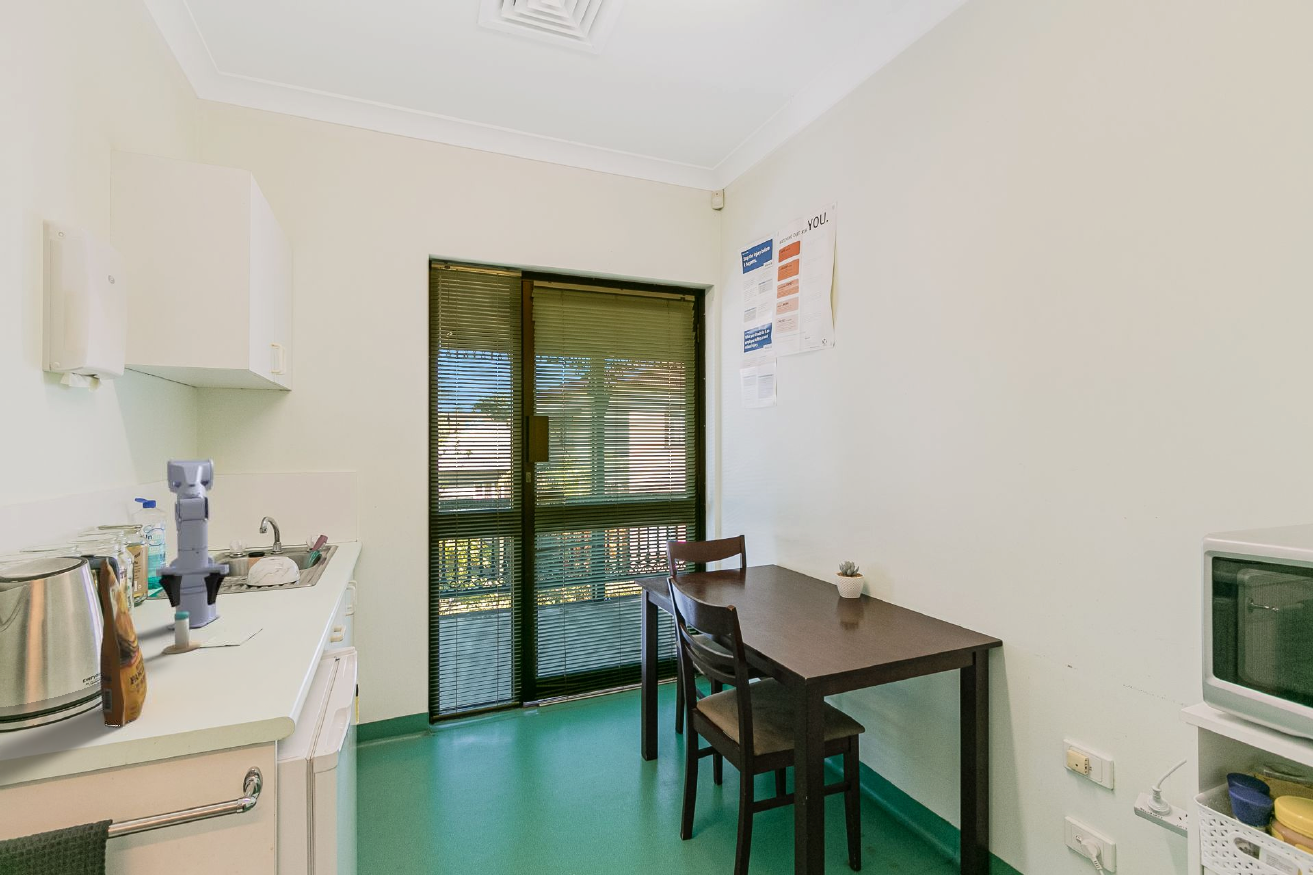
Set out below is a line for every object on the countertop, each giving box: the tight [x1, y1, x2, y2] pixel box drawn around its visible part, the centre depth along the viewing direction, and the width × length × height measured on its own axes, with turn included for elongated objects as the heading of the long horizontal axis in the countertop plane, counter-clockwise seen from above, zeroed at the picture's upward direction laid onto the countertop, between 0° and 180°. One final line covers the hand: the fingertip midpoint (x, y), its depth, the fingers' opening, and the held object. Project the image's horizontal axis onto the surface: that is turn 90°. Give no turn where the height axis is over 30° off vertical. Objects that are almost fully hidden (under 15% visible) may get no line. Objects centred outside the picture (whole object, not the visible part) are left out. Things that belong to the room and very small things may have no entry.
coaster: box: [162, 641, 202, 655], centre depth 141 cm, size 7×7×1 cm
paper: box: [197, 630, 250, 649], centre depth 148 cm, size 12×9×1 cm
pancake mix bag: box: [99, 556, 148, 727], centre depth 109 cm, size 7×19×28 cm, turn 36°
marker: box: [174, 612, 190, 649], centre depth 141 cm, size 3×3×8 cm
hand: (193, 605), depth 142 cm, fingers open, 7 cm apart
